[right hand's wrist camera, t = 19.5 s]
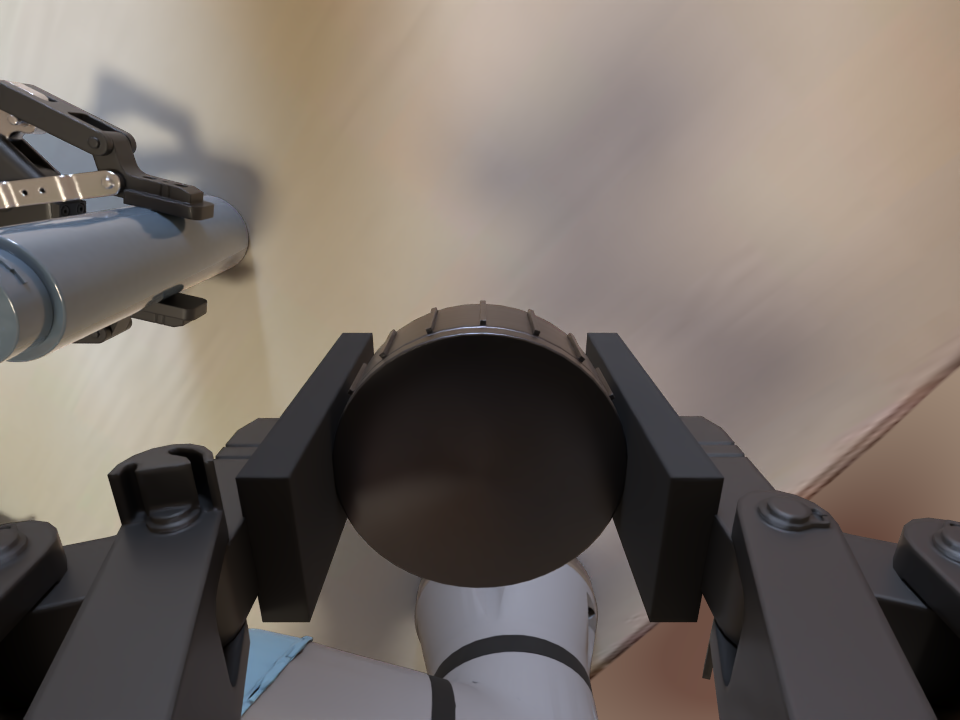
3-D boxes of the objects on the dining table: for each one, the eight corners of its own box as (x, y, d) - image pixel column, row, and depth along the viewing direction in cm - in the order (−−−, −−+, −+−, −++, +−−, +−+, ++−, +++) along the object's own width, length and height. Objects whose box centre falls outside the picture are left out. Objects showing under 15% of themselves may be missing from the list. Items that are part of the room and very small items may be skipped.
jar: (165, 195, 35) (-149, 240, 18) (242, 194, 35) (4, 237, 17) (182, 271, 37) (-90, 380, 19) (254, 270, 37) (49, 378, 19)
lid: (649, 467, 12) (678, 521, 11) (433, 564, 13) (426, 628, 12) (538, 249, 11) (550, 269, 9) (298, 379, 12) (265, 421, 10)
